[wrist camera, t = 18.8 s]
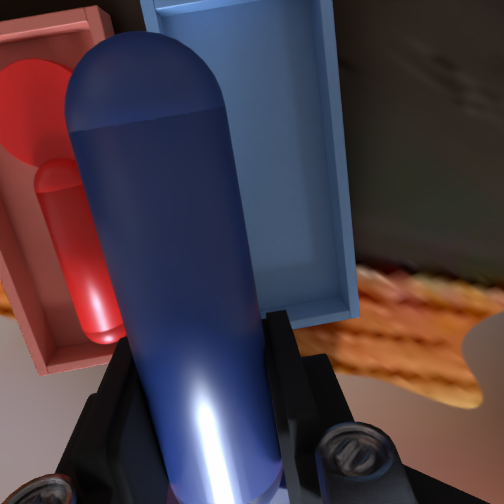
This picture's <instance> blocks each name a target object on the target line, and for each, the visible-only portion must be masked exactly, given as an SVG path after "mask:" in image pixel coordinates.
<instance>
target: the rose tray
mask: <svg viewBox="0 0 504 504" xmlns="http://www.w3.org/2000/svg"><path fill="white" fill-rule="evenodd" d="M114 35H115V33H114V29H113V25H112V21H111V17H110V15H109V14H108V13H106V12H105V11H104V10H102V9H101V8H100V7H98V6H97V5H93V6H87V7H85V8H84V7H81V8H75V9H70V10H64V11H58V12H52V13H46V14H40V15H35V16H29V17H23V18H17V19H11V20H5V21H0V71H1V70H2V69H3V68H4V67H6V66H7V65H9V64H11V63H13V62H15V61H18V60H22V59H29V58H38V59H45V60H49V61H54V62H57V63H60V64H63V65H65V66H68V67H70V68H71V69H73V70H74V68H75V66H76V65H77V64H78V62H79V61H80V60H81V59H82V57H83V56H84V55H85V54H86V52H88V51H89V50H90V49H92V48H93V47H94V46H95V45H97V44H98V43H99V42H101V41H103V40H105V39H107V38H109V37H112V36H114ZM38 169H39V168H38V167H34V166H31V165H29V164H26V163H24V162H22V161H20V160H18V159H17V158H15V157H14V156H13V155H11V154H10V153H9V152H8V151H7V150H6V149H5V148H4V147H3V146H2V145H1V144H0V279H1V282H2V284H3V287H4V289H5V292H6V294H7V297H8V299H9V302H10V304H11V307H12V309H13V312H14V314H15V317H16V319H17V322H18V324H19V327H20V329H21V332H22V334H23V337H24V339H25V342H26V344H27V347H28V349H29V352H30V354H31V357H32V359H33V362H34V364H35V367H36V369H37V372H38V374H39V376H43V375H48V374H53V373H58V372H64V371H70V370H75V369H80V368H86V367H91V366H97V365H102V364H107V363H109V362H110V360H111V358H112V355H113V353H114V350H115V348H116V346H117V343H118V341H117V342H115V343H111V344H98V343H96V342H93V341H92V340H90V339H89V338H88V337H87V336H86V335H85V333H84V332H83V330H82V327H81V324H80V321H79V318H78V315H77V313H76V310H75V307H74V304H73V301H72V298H71V295H70V292H69V289H68V286H67V283H66V281H65V278H64V275H63V272H62V269H61V266H60V263H59V260H58V257H57V254H56V252H55V249H54V246H53V243H52V240H51V237H50V234H49V231H48V228H47V225H46V222H45V220H44V217H43V214H42V211H41V208H40V205H39V202H38V199H37V196H36V193H35V190H34V177H35V174H36V172H37V170H38ZM124 337H127V334H126V335H125V336H124Z"/></svg>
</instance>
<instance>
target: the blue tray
mask: <svg viewBox="0 0 504 504" xmlns="http://www.w3.org/2000/svg"><path fill="white" fill-rule="evenodd" d="M140 3H141V8H142V12H143V17H144V21H145V26H146V30H147V32H154V33H160V34H163V35H166V36H168V37H171V38H173V39H176V40H178V41H179V42H181V43H183V44H184V45H186V46H187V47H189V48H190V49H192V50H193V51H194V52H195V53H196V54H197V55H198V56H199V57H200V58H202V59H203V60H204V61H205V63H206V64H207V65H208V67H209V68H210V70H211V71H212V72H213V74H214V75H215V77H216V79H217V82H218V84H219V86H220V88H221V90H222V94H223V98H224V101H225V105H226V111H227V117H228V123H229V129H230V135H231V141H232V147H233V153H234V159H235V165H236V171H237V177H238V183H239V189H240V195H241V201H242V207H243V213H244V219H245V225H246V231H247V237H248V243H249V249H250V255H251V261H252V267H253V273H254V279H255V285H256V291H257V297H258V303H259V309H260V315H261V319H265V318H266V313H267V312H273V311H279V310H285V309H286V311H287V314H288V317H289V320H290V324H291V327H292V329H298V328H303V327H309V326H314V325H319V324H325V323H330V322H336V321H341V320H347V319H350V318H351V319H352V318H357V317H360V311H359V299H358V288H357V276H356V265H355V253H354V242H353V231H352V219H351V208H350V196H349V185H348V174H347V162H346V151H345V139H344V128H343V117H342V105H341V94H340V82H339V71H338V60H337V48H336V37H335V25H334V14H333V3H332V0H140Z"/></svg>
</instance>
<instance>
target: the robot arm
mask: <svg viewBox="0 0 504 504" xmlns="http://www.w3.org/2000/svg"><path fill="white" fill-rule="evenodd" d="M261 321H262V327H263V333H264V339H265V350H264V355H265V361H266V367H267V373H268V379H269V384H270V390H271V396H272V402H273V408H274V414H275V420H276V426H277V432H278V438H279V444H280V450H281V456H282V462H283V467H284V473H285V479H286V485H287V491H288V497H289V502H290V504H490V503H487V502H485V501H483V500H481V499H479V498H476V497H474V496H472V495H470V494H468V493H465V492H463V491H461V490H459V489H457V488H454V487H452V486H450V485H448V484H445V483H443V482H441V481H439V480H437V479H435V478H432V477H430V476H428V475H426V474H423V473H421V472H419V471H417V470H414V469H412V468H410V467H408V466H406V465H404V464H402V462H401V459H400V457H399V455H398V452H397V449H396V447H395V445H394V443H393V442H392V440H391V438H390V437H389V436H388V435H387V434H385V433H384V432H383V431H382V430H381V429H379V428H377V427H375V426H373V425H371V424H366V423H362V422H355V421H354V419H353V416H352V414H351V411H350V409H349V407H348V404H347V402H346V399H345V397H344V395H343V392H342V390H341V388H340V385H339V383H338V380H337V378H336V375H335V373H334V371H333V368H332V366H331V363H330V361H329V359H328V356H327V355H326V354H325V353H324V354H318V355H312V356H307V357H301V356H300V352H299V349H298V346H297V343H296V340H295V336H294V333H293V330H292V327H291V324H290V320H289V317H288V314H287V311H286V309H285V310H279V311H273V312H267V313H266V318H265V319H261ZM168 487H169V478H168V475H167V472H166V468H165V465H164V461H163V458H162V454H161V451H160V448H159V444H158V441H157V437H156V434H155V430H154V427H153V424H152V420H151V417H150V413H149V410H148V406H147V403H146V400H145V396H144V393H143V389H142V386H141V382H140V379H139V375H138V372H137V369H136V365H135V362H134V358H133V355H132V351H131V348H130V345H129V341H128V338H127V337H122V338H120V339H119V341H118V343H117V346H116V348H115V350H114V353H113V355H112V358H111V360H110V362H109V365H108V367H107V369H106V372H105V374H104V377H103V379H102V381H101V384H100V386H99V388H98V391H97V393H94V394H91V395H90V396H89V397H88V399H87V401H86V403H85V406H84V408H83V410H82V412H81V415H80V417H79V419H78V422H77V424H76V426H75V428H74V431H73V433H72V435H71V437H70V440H69V442H68V444H67V446H66V449H65V451H64V453H63V456H62V458H61V460H60V462H59V464H58V467H57V469H56V471H55V473H54V474H48V475H44V476H41V477H38V478H35V479H33V480H31V481H29V482H28V483H26V484H24V485H22V486H21V487H20V488H18V489H17V490H16V491H14V492H13V493H12V494H10V495H9V496H8V497H7V498H6V500H5V501H4V502H3V503H2V504H166V502H167V495H168Z"/></svg>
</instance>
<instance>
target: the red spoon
mask: <svg viewBox="0 0 504 504" xmlns="http://www.w3.org/2000/svg"><path fill="white" fill-rule="evenodd" d="M72 73H73V69H71V68H70V67H68V66H65V65H63V64H60V63H57V62H54V61H49V60H45V59H38V58H29V59H22V60H18V61H15V62H13V63H11V64H9V65H7V66H6V67H4V68H3V69H2V70H1V71H0V144H1V145H2V146H3V147H4V148H5V149H6V150H7V151H8V152H9V153H10V154H11V155H13V156H14V157H15V158H17V159H18V160H20V161H22V162H24V163H26V164H29V165H31V166H34V167H38V168H39V169H38V170H37V172H36V174H35V177H34V190H35V193H36V196H37V199H38V202H39V205H40V208H41V211H42V214H43V217H44V220H45V222H46V225H47V228H48V231H49V234H50V237H51V240H52V243H53V246H54V249H55V252H56V254H57V257H58V260H59V263H60V266H61V269H62V272H63V275H64V278H65V281H66V283H67V286H68V289H69V292H70V295H71V298H72V301H73V304H74V307H75V310H76V313H77V315H78V318H79V321H80V324H81V327H82V330H83V332H84V333H85V335H86V336H87V337H88V338H89V339H90V340H92V341H93V342H96V343H98V344H111V343H115V342H117V341H119V339H120V338H122V337H124V336H125V335H126V331H125V327H124V324H123V321H122V317H121V314H120V310H119V307H118V303H117V300H116V297H115V293H114V290H113V286H112V283H111V279H110V276H109V273H108V269H107V266H106V262H105V259H104V255H103V252H102V249H101V245H100V242H99V238H98V235H97V231H96V228H95V225H94V221H93V218H92V214H91V211H90V207H89V204H88V201H87V197H86V194H85V190H84V187H83V183H82V180H81V177H80V173H79V170H78V166H77V163H76V159H75V156H74V153H73V149H72V146H71V142H70V139H69V135H68V132H67V126H66V121H65V116H64V106H65V94H66V90H67V85H68V81H69V79H70V77H71V75H72Z"/></svg>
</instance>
